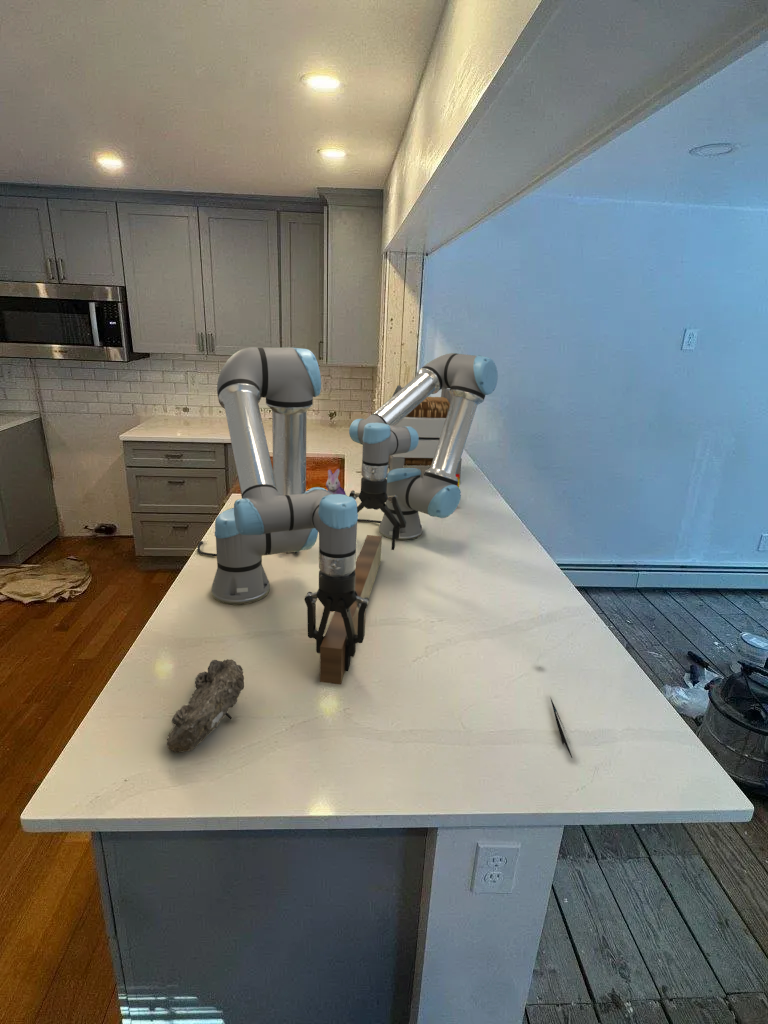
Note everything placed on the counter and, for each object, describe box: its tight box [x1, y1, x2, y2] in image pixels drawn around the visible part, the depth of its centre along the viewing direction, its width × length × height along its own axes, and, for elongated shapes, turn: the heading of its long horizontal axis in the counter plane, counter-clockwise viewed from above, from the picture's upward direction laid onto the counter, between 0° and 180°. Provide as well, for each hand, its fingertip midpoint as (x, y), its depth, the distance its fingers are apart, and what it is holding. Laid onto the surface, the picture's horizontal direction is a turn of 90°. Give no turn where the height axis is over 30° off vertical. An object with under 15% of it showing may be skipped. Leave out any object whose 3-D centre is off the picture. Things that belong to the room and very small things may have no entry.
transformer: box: [388, 384, 463, 483], centre depth 268 cm, size 34×33×41 cm
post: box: [319, 534, 383, 685], centre depth 147 cm, size 62×5×9 cm, turn 173°
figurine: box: [325, 468, 347, 495], centre depth 222 cm, size 9×10×15 cm
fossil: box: [166, 658, 245, 754], centre depth 106 cm, size 22×10×15 cm
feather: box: [539, 666, 573, 758], centre depth 114 cm, size 2×28×2 cm
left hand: (335, 666), depth 124 cm, fingers closed on post, 5 cm apart
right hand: (370, 546), depth 170 cm, fingers open, 13 cm apart
